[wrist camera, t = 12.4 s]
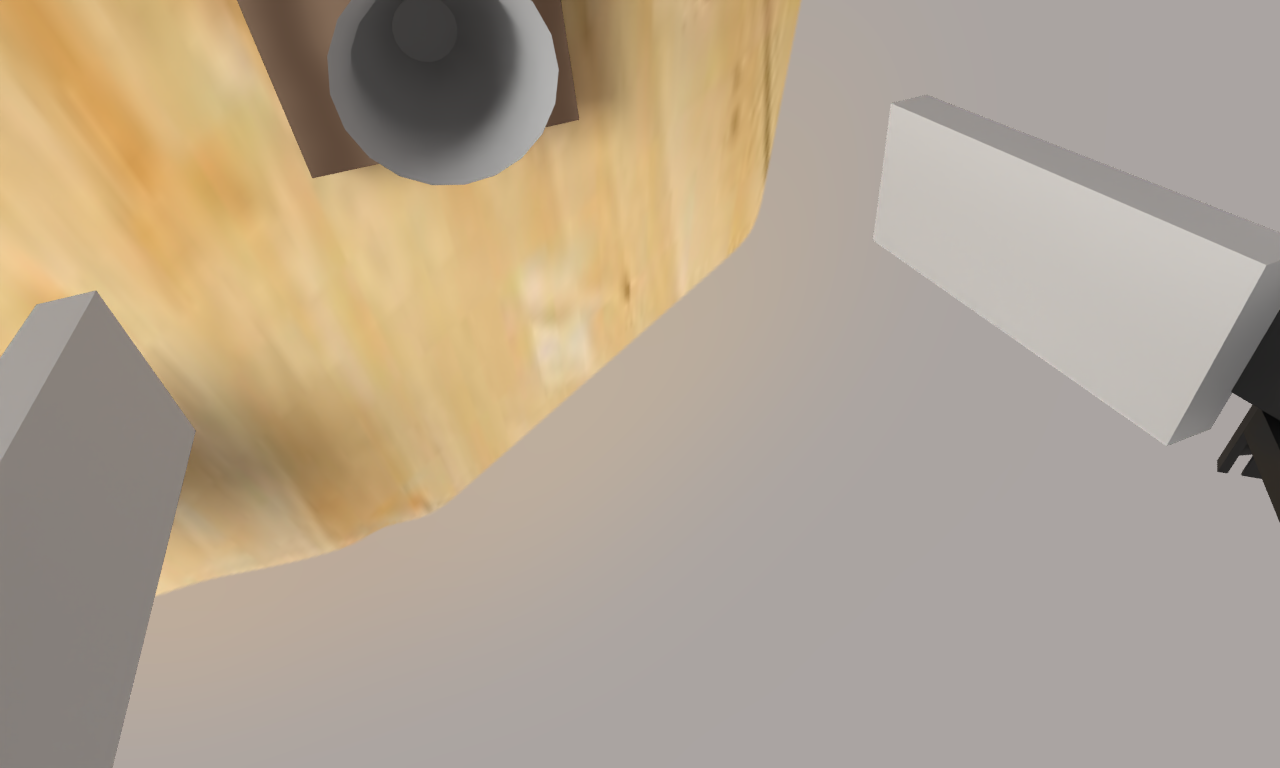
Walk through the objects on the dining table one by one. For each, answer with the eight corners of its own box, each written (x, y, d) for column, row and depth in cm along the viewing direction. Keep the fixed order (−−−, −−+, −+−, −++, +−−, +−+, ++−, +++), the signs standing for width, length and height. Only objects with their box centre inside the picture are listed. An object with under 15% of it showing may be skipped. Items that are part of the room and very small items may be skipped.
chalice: (441, -110, 33) (506, -86, 20) (501, 33, 38) (588, 131, 24) (303, -49, 33) (274, 18, 19) (381, 88, 37) (401, 219, 24)
